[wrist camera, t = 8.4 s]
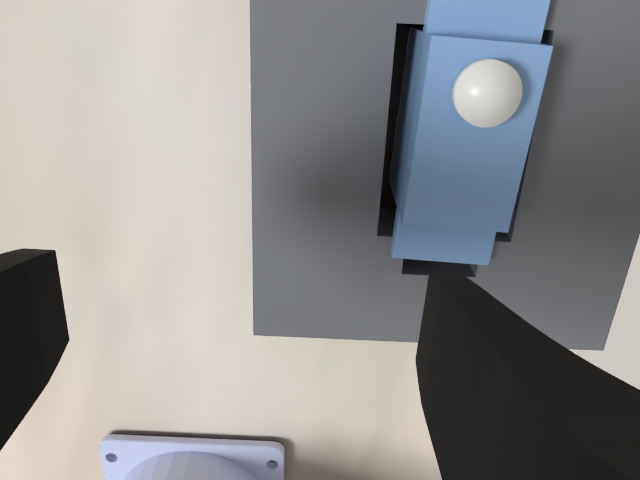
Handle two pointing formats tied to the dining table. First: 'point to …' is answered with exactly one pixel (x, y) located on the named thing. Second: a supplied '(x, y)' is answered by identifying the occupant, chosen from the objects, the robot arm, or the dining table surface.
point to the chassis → (378, 223)
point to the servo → (465, 125)
